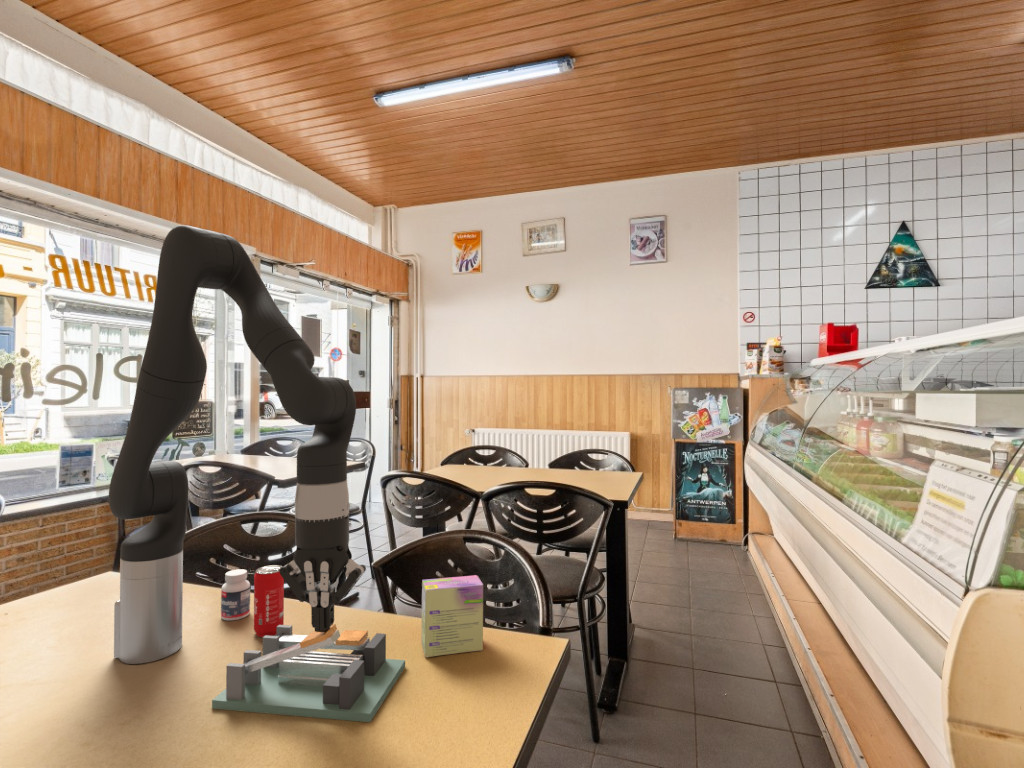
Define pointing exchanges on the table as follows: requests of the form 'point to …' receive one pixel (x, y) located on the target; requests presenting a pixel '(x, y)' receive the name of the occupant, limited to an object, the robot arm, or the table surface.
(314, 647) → the lever near
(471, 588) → the box
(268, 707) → the socket board
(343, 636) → the lever far
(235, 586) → the pill bottle
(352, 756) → the table surface
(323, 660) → the heatsink block
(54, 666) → the table surface
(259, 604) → the beverage can
